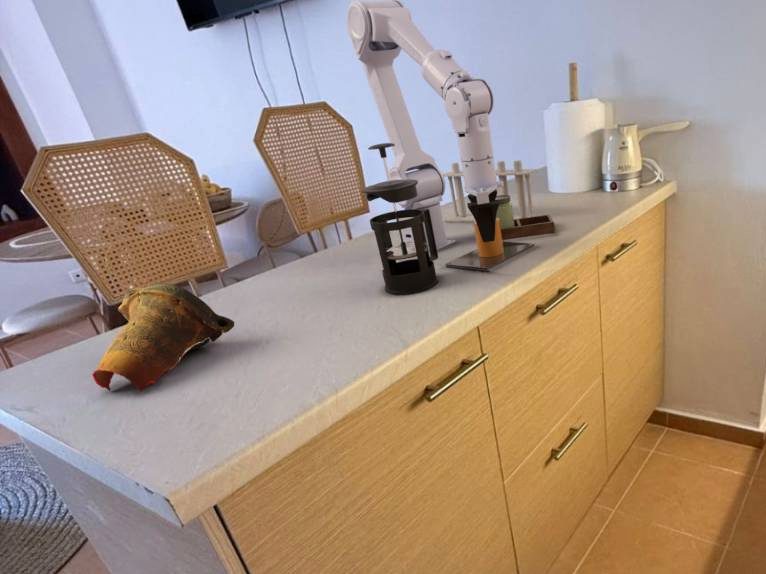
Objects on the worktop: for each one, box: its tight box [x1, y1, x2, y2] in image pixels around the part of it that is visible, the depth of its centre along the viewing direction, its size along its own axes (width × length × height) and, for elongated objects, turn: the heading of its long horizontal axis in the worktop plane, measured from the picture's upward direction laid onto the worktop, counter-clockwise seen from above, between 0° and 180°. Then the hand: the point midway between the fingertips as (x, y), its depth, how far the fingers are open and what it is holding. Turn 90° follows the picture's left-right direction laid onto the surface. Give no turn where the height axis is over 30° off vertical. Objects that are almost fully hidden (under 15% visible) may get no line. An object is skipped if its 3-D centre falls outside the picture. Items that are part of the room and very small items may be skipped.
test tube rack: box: [442, 159, 538, 223], centre depth 129 cm, size 25×4×13 cm, turn 57°
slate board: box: [445, 241, 535, 273], centre depth 105 cm, size 15×10×1 cm, turn 144°
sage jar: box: [495, 194, 515, 229], centre depth 115 cm, size 5×5×8 cm
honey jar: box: [472, 214, 504, 257], centre depth 103 cm, size 5×5×8 cm
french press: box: [361, 142, 439, 296], centre depth 91 cm, size 12×9×23 cm
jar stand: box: [501, 213, 556, 241], centre depth 117 cm, size 14×7×3 cm, turn 94°
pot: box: [92, 283, 236, 393], centre depth 77 cm, size 17×11×18 cm
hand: (488, 235), depth 104 cm, fingers open, 7 cm apart
